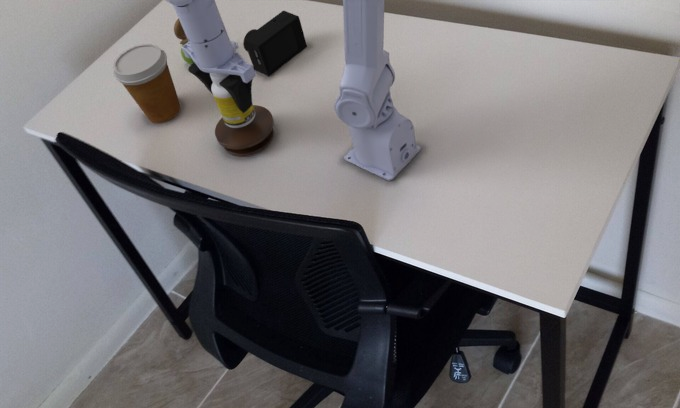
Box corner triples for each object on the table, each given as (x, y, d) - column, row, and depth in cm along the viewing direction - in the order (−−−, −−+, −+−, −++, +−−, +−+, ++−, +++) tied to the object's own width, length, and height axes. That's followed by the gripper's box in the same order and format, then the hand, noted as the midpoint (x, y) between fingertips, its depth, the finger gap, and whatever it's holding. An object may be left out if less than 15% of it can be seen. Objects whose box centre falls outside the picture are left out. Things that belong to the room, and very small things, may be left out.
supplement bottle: (251, 129, 109) (232, 81, 102) (220, 129, 110) (199, 82, 103) (260, 106, 112) (242, 58, 105) (230, 107, 114) (210, 60, 107)
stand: (289, 129, 114) (284, 116, 112) (248, 167, 110) (242, 154, 108) (249, 111, 119) (244, 98, 117) (208, 146, 115) (202, 133, 113)
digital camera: (288, 38, 132) (279, 7, 127) (307, 46, 129) (299, 15, 124) (250, 68, 128) (238, 37, 123) (268, 77, 125) (258, 46, 120)
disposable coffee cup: (199, 105, 123) (174, 51, 115) (159, 136, 120) (130, 83, 111) (168, 88, 129) (143, 36, 120) (129, 118, 125) (100, 66, 116)
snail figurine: (222, 53, 133) (200, 0, 124) (201, 73, 130) (178, 20, 121) (201, 49, 135) (179, -4, 127) (181, 68, 132) (157, 16, 124)
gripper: (258, 28, 96) (282, 101, 106) (194, 5, 104) (222, 75, 114) (223, 56, 94) (251, 128, 104) (160, 30, 101) (192, 99, 111)
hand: (234, 102), depth 109 cm, fingers closed on supplement bottle, 5 cm apart
